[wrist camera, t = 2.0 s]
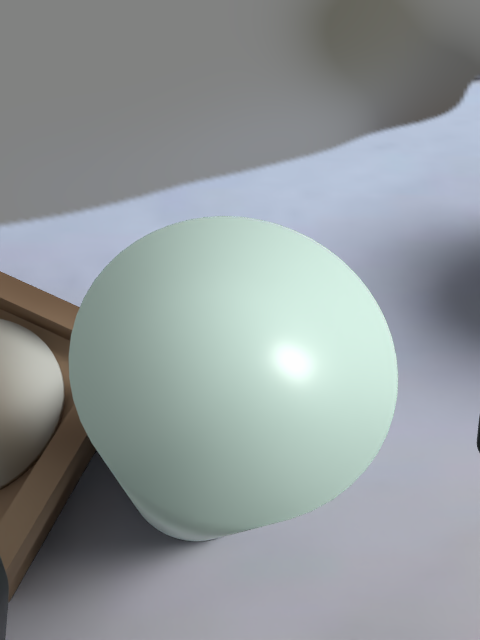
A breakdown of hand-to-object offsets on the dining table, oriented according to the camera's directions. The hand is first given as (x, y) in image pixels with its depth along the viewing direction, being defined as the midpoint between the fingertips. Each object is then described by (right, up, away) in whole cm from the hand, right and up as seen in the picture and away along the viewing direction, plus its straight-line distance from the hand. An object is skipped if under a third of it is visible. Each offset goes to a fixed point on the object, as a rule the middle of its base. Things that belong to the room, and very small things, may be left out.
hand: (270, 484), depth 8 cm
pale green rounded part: (-2, -3, +11) cm, 11 cm away
